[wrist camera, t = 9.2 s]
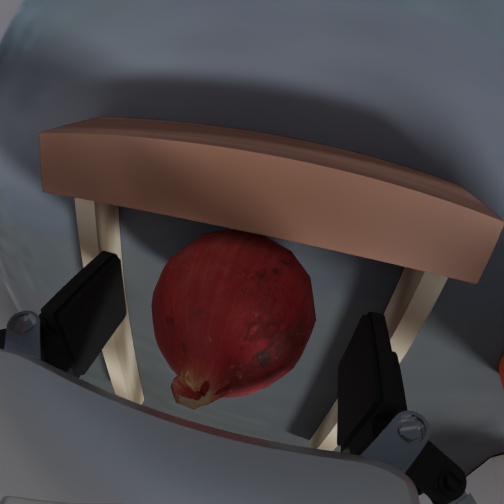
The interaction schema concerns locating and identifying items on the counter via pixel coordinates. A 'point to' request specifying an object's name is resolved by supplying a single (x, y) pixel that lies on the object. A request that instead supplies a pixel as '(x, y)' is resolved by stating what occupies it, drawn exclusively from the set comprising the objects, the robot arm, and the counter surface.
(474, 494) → the milk carton
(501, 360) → the paper cup
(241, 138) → the wooden u-shaped frame
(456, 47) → the counter surface
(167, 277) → the red apple
